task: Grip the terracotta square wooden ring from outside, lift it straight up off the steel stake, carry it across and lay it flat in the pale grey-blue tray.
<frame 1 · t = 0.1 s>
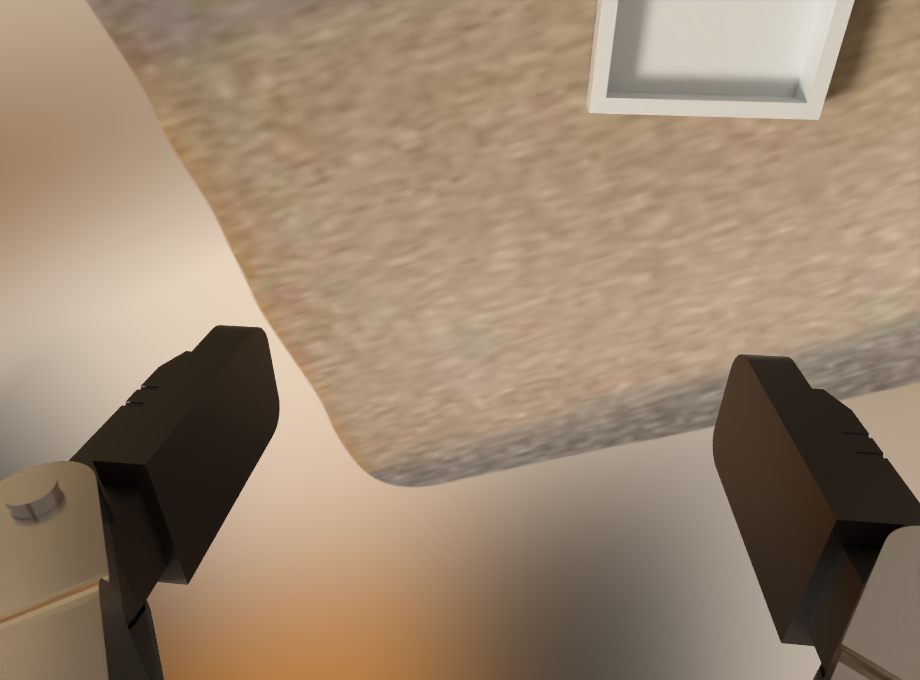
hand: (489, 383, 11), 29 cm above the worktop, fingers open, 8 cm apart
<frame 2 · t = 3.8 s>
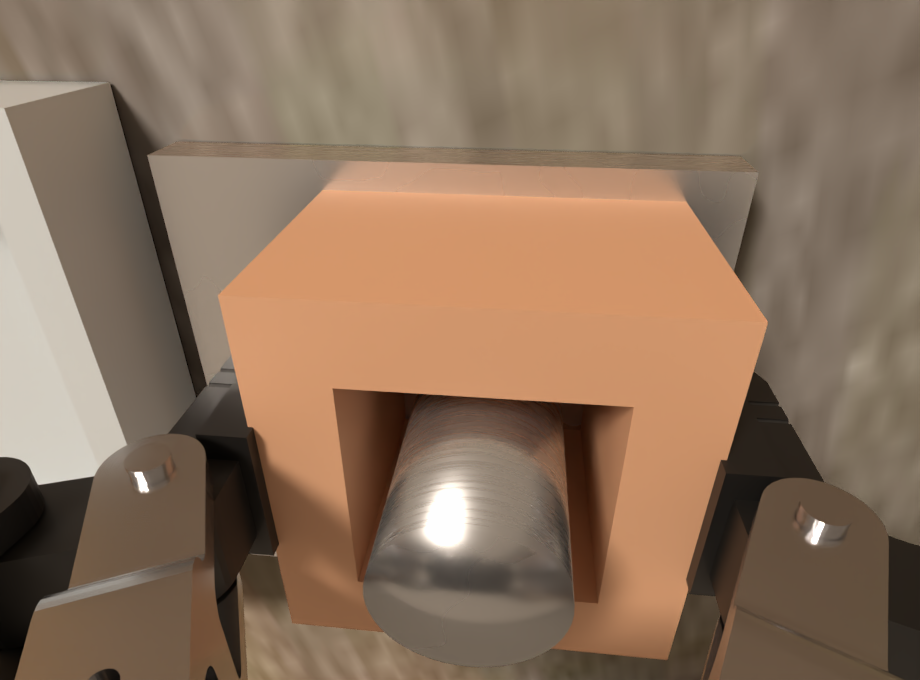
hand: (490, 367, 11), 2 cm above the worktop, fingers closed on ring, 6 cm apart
stake: (449, 381, 13), on the worktop
ring: (494, 349, 12), point 1 cm above the worktop, touching gripper, stake
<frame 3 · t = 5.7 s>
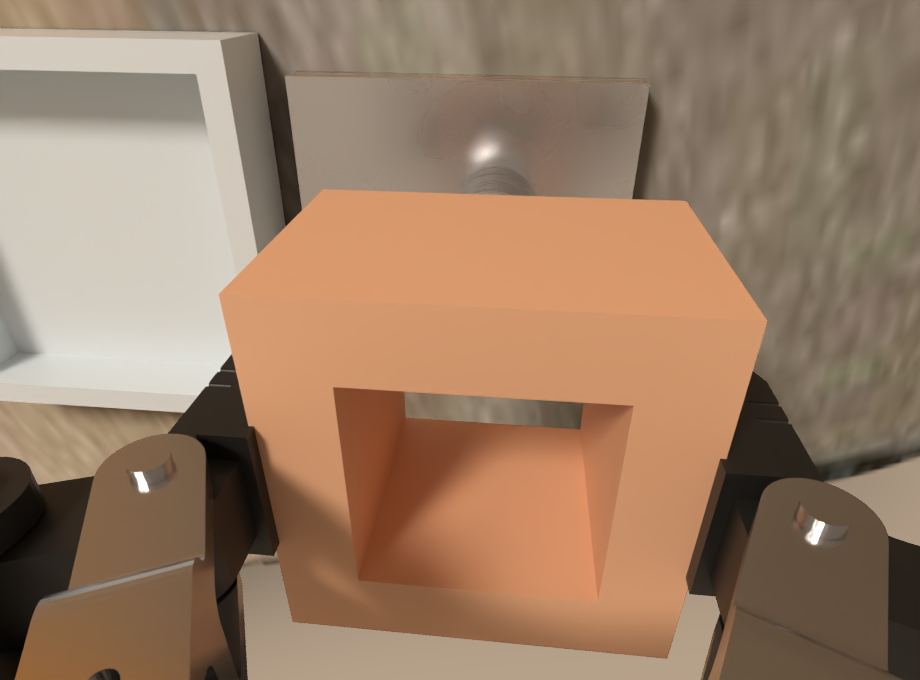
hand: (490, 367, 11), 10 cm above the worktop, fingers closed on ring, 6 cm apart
tray: (116, 224, 21), on the worktop
stake: (464, 239, 20), on the worktop
ring: (494, 349, 12), point 9 cm above the worktop, touching gripper
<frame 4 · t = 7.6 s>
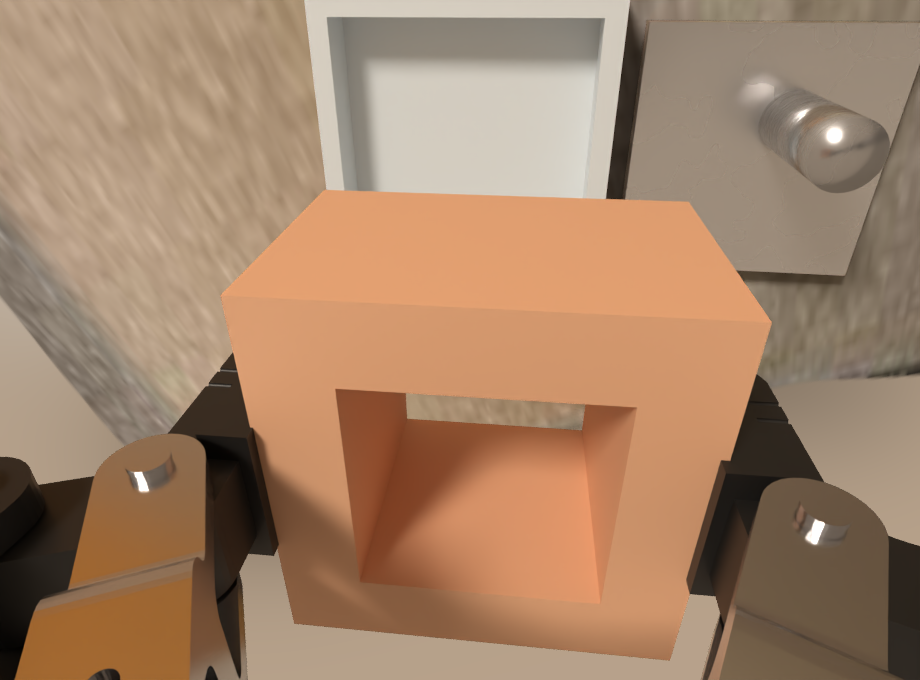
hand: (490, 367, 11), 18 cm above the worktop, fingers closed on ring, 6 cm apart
tray: (469, 145, 27), on the worktop
stake: (748, 152, 26), on the worktop
ring: (496, 350, 12), point 18 cm above the worktop, touching gripper
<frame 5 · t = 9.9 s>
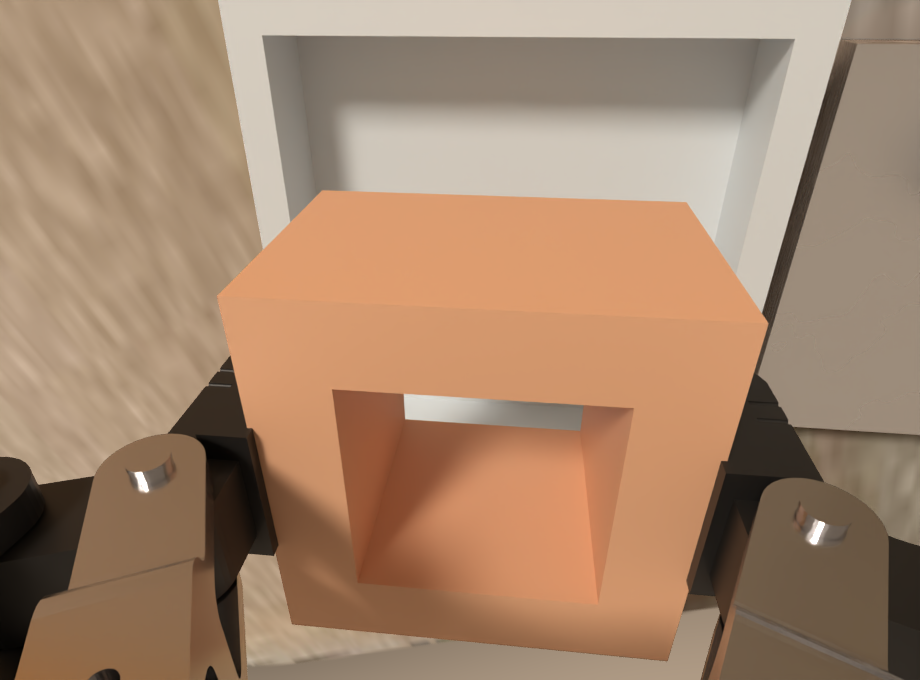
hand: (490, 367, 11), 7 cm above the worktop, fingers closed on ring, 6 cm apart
tray: (511, 240, 17), on the worktop
ring: (494, 350, 12), point 6 cm above the worktop, touching gripper
when the fingers open (3 cm above the worktop, at t = 11.7 s): ring drops 1 cm, resting on tray.
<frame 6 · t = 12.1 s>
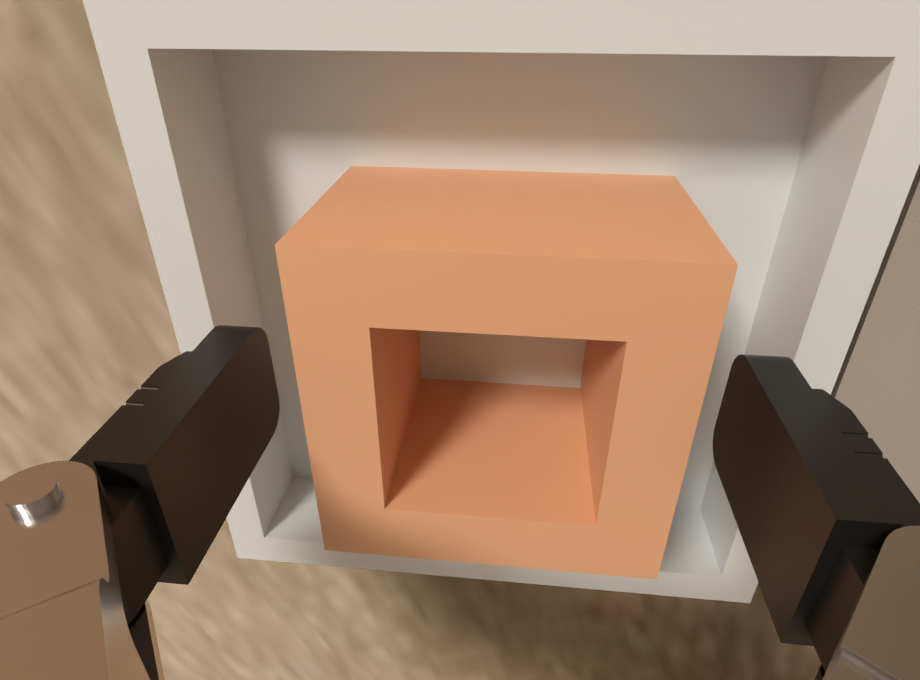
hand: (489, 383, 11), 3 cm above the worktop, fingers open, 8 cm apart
tray: (498, 302, 13), on the worktop
ring: (503, 312, 13), resting on tray
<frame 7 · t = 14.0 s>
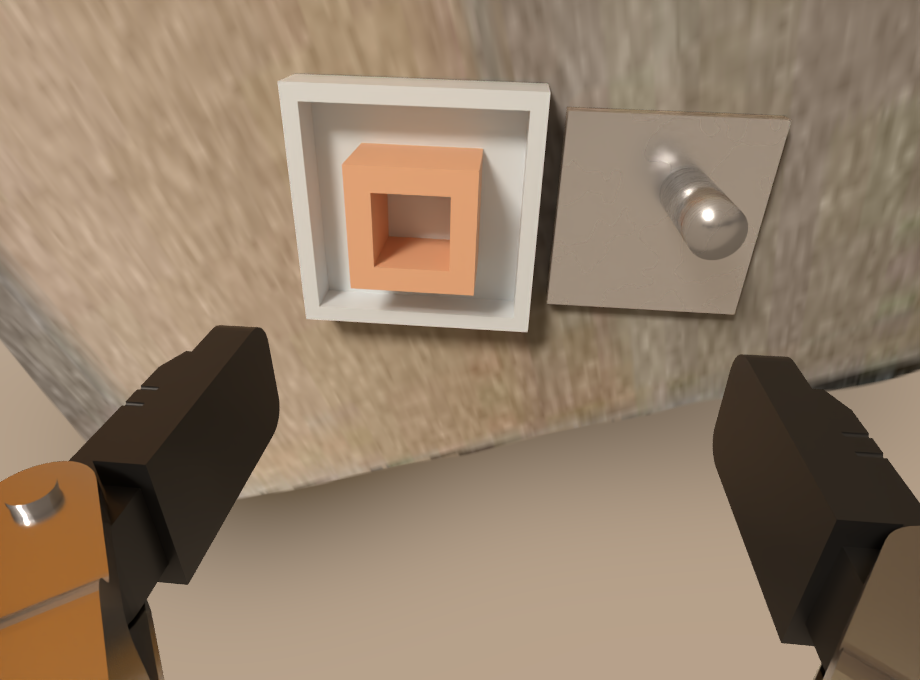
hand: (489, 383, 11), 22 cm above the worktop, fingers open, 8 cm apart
tray: (421, 202, 32), on the worktop
stake: (653, 213, 31), on the worktop
ring: (422, 205, 31), resting on tray
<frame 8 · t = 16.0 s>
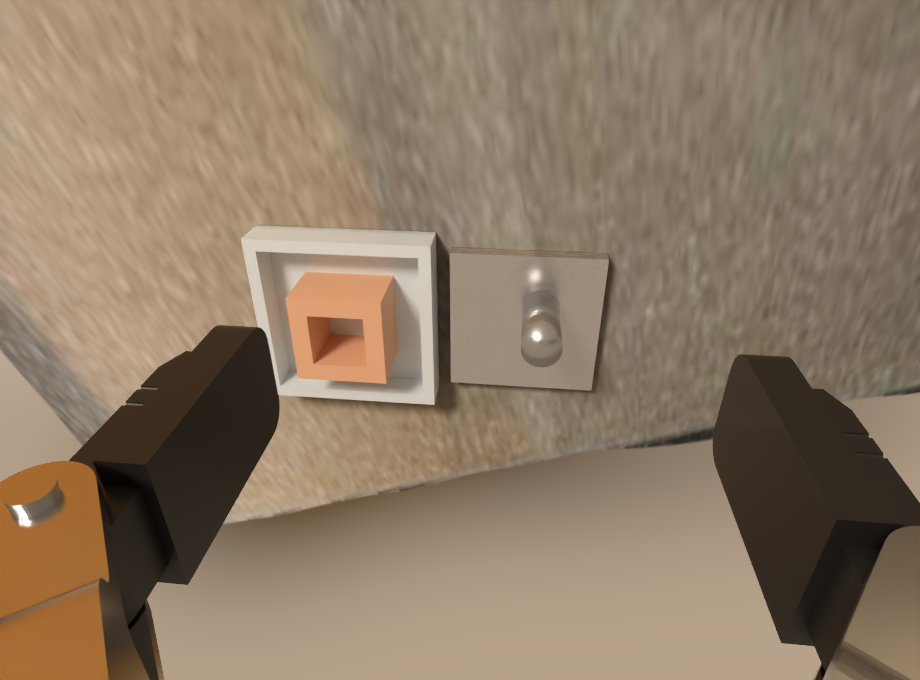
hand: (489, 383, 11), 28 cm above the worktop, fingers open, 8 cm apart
tray: (353, 309, 43), on the worktop
stake: (524, 318, 42), on the worktop
ring: (353, 312, 42), resting on tray
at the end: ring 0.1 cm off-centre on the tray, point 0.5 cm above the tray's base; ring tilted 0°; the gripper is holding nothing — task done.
